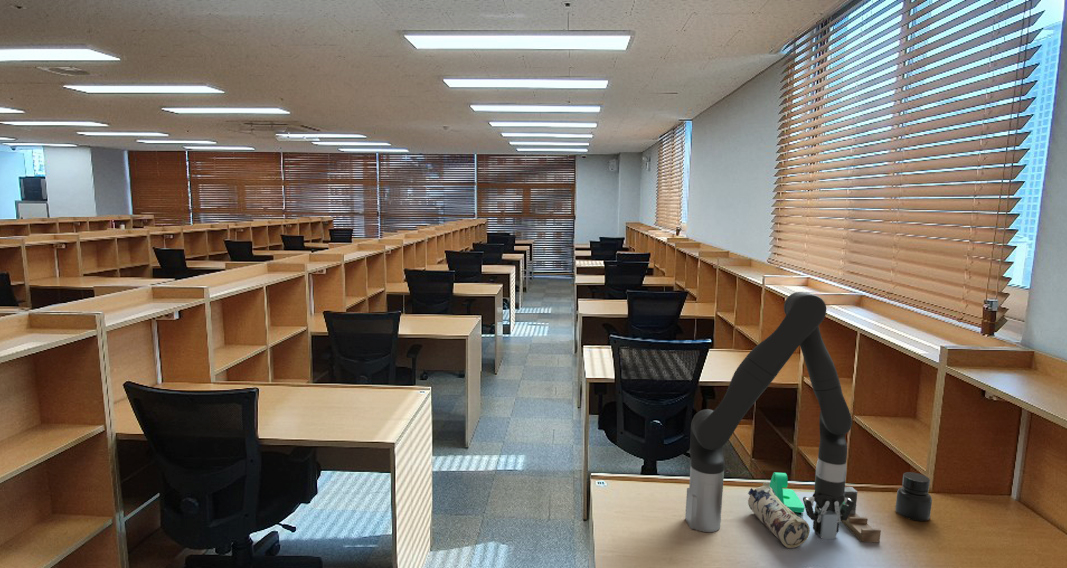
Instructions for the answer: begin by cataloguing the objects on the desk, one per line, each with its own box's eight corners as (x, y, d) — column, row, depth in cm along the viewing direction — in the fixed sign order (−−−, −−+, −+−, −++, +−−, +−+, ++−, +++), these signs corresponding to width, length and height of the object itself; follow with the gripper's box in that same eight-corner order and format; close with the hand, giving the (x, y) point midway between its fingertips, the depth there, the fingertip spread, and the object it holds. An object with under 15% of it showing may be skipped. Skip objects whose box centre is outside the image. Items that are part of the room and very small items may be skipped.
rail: (861, 541, 166) (864, 511, 165) (833, 514, 181) (836, 485, 180) (879, 542, 166) (882, 511, 165) (849, 514, 181) (852, 486, 180)
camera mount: (804, 516, 180) (807, 483, 178) (778, 514, 181) (780, 481, 179) (792, 497, 192) (794, 466, 190) (767, 495, 192) (769, 464, 191)
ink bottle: (938, 520, 179) (942, 482, 177) (916, 524, 176) (920, 486, 174) (908, 504, 188) (912, 468, 186) (887, 508, 185) (891, 471, 184)
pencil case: (744, 511, 181) (746, 481, 180) (771, 511, 182) (773, 480, 181) (781, 553, 160) (784, 518, 158) (811, 552, 161) (815, 517, 159)
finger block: (821, 538, 167) (823, 514, 166) (814, 530, 171) (816, 507, 170) (835, 538, 167) (838, 515, 166) (828, 530, 171) (830, 507, 170)
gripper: (811, 481, 163) (806, 540, 165) (863, 481, 163) (857, 540, 166) (799, 469, 170) (794, 525, 173) (848, 469, 171) (843, 526, 173)
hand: (825, 532), depth 169 cm, fingers closed on finger block, 4 cm apart
